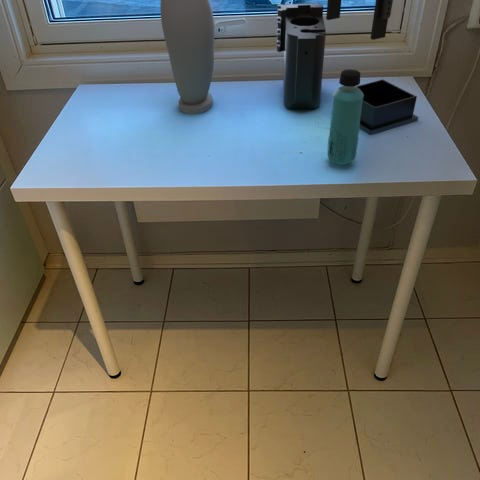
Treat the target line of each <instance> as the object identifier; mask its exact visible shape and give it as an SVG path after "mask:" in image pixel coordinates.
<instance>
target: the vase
mask: <svg viewBox="0 0 480 480" xmlns="http://www.w3.org/2000/svg"><path fill="white" fill-rule="evenodd" d="M159 7H160V8H159V9H160V11H159V12H160V20H161V21H160V22H161V28H162V33H163V38H164V41H165V42H164V43H165V46H166V50H167V53H168V57H169V61H170V67H171V71H172V74H173V78H174V82H175V87H176V90H177V93H178V95H179V97H180V98H179V99H178V109H179V111H180V112H182V113H183V114H187V115H197V114H198V115H199V114H203V113H205V112H207V111H209V110H210V109H211V108H212V107H213V105H214V101H213V100H214V99H213V96H212V94H211V93H209V91H210V88H211V84H212V78H213V75H214V69H215V68H214V67H215V20H214V14H213V9H212V6H211V3H210V0H160V6H159Z"/></svg>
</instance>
